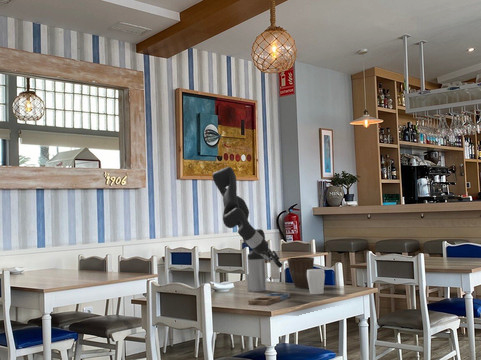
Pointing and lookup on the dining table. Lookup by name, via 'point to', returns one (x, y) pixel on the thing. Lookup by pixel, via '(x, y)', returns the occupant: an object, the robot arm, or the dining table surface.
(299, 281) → the plant pot
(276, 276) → the salt mill
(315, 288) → the cup
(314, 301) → the dining table surface
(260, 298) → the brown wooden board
